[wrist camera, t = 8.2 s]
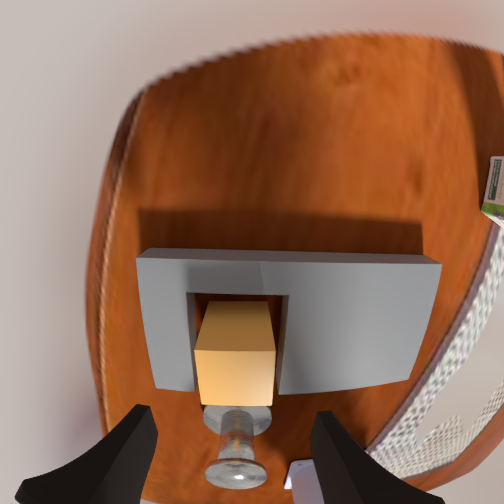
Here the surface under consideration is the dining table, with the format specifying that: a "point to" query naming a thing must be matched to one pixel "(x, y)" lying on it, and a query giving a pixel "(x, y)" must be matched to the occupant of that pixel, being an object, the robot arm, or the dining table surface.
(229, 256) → the board
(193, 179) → the dining table surface
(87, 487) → the robot arm
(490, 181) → the syrup box
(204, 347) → the tab block
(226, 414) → the bobbin post
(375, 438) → the dining table surface
